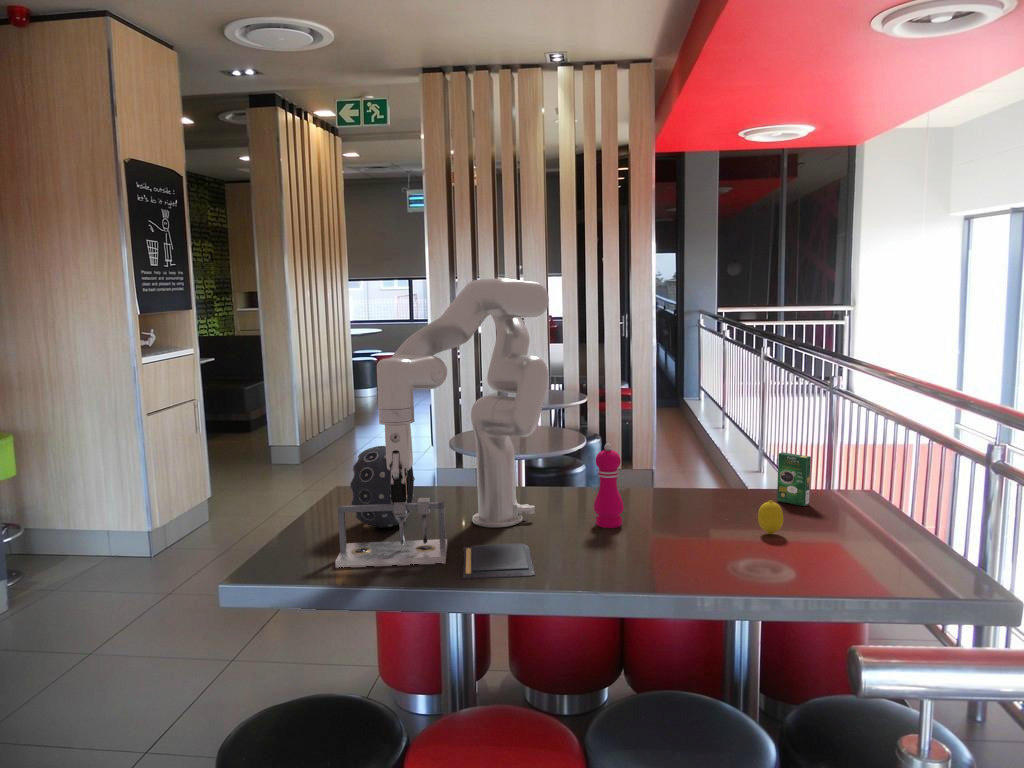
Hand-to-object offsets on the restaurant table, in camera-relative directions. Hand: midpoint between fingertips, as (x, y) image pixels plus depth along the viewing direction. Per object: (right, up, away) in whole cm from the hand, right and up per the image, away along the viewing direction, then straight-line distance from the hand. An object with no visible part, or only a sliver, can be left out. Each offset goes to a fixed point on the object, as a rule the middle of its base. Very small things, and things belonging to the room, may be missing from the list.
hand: (400, 497), depth 166 cm
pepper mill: (+48, -10, +21) cm, 53 cm away
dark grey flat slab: (+21, -14, -3) cm, 26 cm away
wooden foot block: (0, -10, +1) cm, 10 cm away
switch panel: (-2, -13, +1) cm, 13 cm away
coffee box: (+98, -7, +35) cm, 104 cm away
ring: (-7, -11, +25) cm, 28 cm away
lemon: (+84, -10, +9) cm, 85 cm away
